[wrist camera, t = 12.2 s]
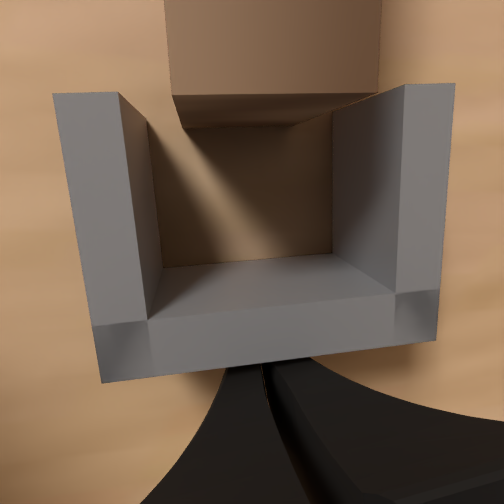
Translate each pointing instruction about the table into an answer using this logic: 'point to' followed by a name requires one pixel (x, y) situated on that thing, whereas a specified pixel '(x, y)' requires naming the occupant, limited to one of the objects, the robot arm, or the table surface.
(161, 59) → the table surface
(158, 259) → the gray u-shaped clamp
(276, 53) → the slat
